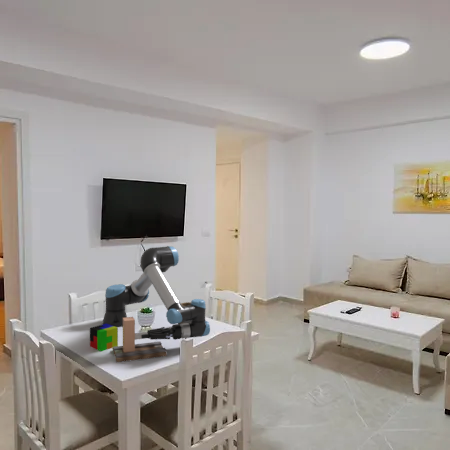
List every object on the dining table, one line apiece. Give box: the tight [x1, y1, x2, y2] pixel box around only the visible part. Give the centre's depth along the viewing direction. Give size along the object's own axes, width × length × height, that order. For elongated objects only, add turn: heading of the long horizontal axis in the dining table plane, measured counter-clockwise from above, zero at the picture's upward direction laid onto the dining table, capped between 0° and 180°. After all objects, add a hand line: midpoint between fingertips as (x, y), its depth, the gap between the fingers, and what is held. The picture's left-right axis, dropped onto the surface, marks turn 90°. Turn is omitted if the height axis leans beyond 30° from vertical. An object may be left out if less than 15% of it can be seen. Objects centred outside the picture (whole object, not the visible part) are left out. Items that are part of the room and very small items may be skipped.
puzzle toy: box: [89, 323, 119, 352], centre depth 214 cm, size 10×10×10 cm
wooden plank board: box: [112, 341, 168, 363], centre depth 206 cm, size 24×16×2 cm, turn 112°
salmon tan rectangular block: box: [122, 316, 136, 353], centre depth 203 cm, size 5×6×16 cm
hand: (134, 336), depth 204 cm, fingers closed
